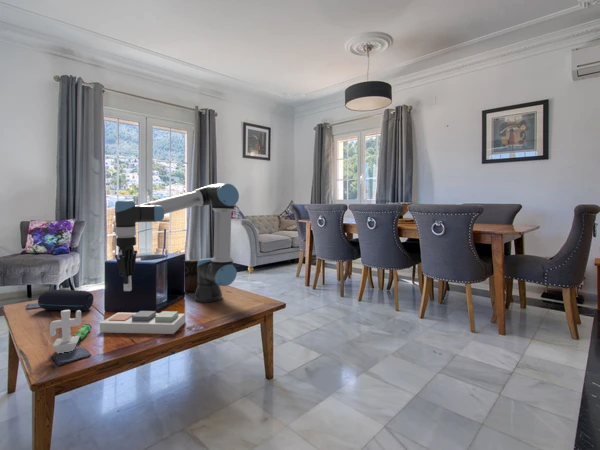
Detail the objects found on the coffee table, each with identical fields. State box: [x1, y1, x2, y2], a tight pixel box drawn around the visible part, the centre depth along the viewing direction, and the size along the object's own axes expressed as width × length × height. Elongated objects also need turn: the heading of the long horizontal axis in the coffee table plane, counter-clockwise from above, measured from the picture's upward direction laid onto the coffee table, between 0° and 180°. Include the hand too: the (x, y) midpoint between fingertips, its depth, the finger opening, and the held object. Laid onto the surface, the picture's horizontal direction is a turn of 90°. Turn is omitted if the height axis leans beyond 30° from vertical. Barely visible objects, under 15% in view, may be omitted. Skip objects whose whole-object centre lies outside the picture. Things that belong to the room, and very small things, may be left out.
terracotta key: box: [109, 314, 134, 321], centre depth 141 cm, size 7×7×3 cm
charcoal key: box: [132, 310, 157, 322], centre depth 140 cm, size 7×7×3 cm
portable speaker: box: [37, 289, 94, 312], centre depth 161 cm, size 25×10×10 cm, turn 85°
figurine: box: [49, 310, 82, 355], centre depth 118 cm, size 7×9×15 cm
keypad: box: [99, 311, 186, 335], centre depth 141 cm, size 13×31×4 cm, turn 89°
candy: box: [72, 323, 93, 343], centre depth 130 cm, size 12×3×4 cm
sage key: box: [155, 310, 179, 322], centre depth 140 cm, size 7×7×3 cm
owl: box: [184, 259, 199, 294], centre depth 196 cm, size 13×13×20 cm
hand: (127, 290), depth 140 cm, fingers closed
